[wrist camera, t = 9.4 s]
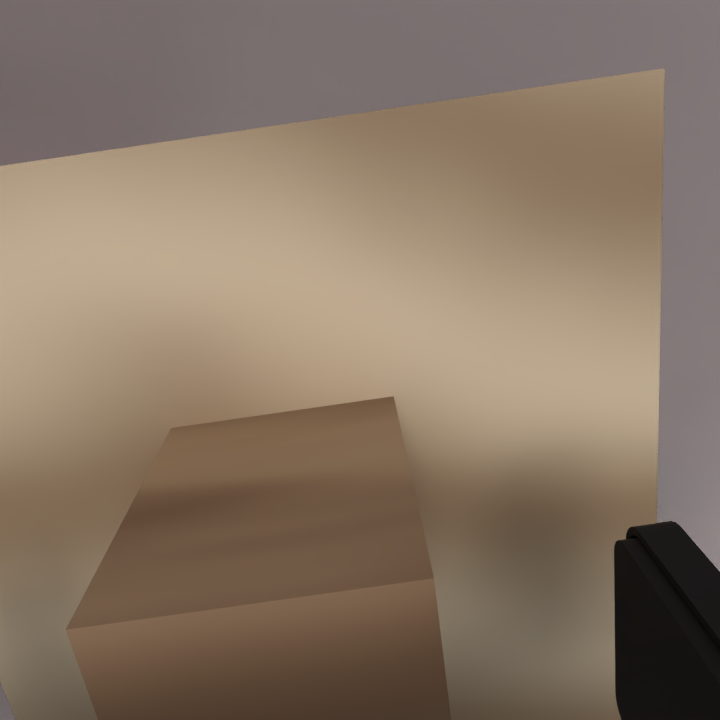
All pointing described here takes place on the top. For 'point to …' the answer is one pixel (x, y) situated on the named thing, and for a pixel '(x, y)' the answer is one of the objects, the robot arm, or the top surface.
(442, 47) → the top surface
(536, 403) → the lid
